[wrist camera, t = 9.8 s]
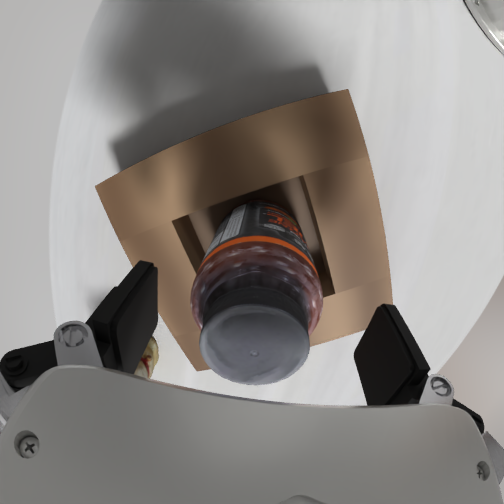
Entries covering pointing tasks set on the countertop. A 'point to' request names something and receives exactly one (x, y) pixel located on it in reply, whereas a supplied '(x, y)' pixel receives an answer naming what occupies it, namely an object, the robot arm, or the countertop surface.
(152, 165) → the socket block
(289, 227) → the supplement bottle
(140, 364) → the chocolate bunny
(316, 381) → the countertop surface
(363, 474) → the robot arm
